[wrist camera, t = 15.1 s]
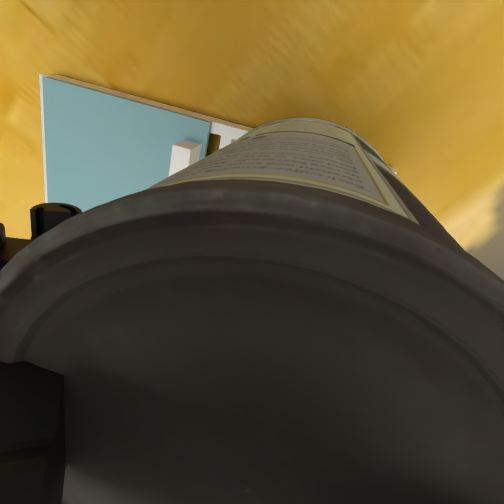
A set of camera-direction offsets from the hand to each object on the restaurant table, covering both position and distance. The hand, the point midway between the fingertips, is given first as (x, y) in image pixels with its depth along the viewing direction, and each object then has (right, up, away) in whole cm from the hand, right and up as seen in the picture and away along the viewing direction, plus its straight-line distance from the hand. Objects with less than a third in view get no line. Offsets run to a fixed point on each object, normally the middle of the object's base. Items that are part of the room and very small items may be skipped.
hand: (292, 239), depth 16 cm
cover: (-15, +6, +20) cm, 26 cm away
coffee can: (+1, +1, +3) cm, 3 cm away
